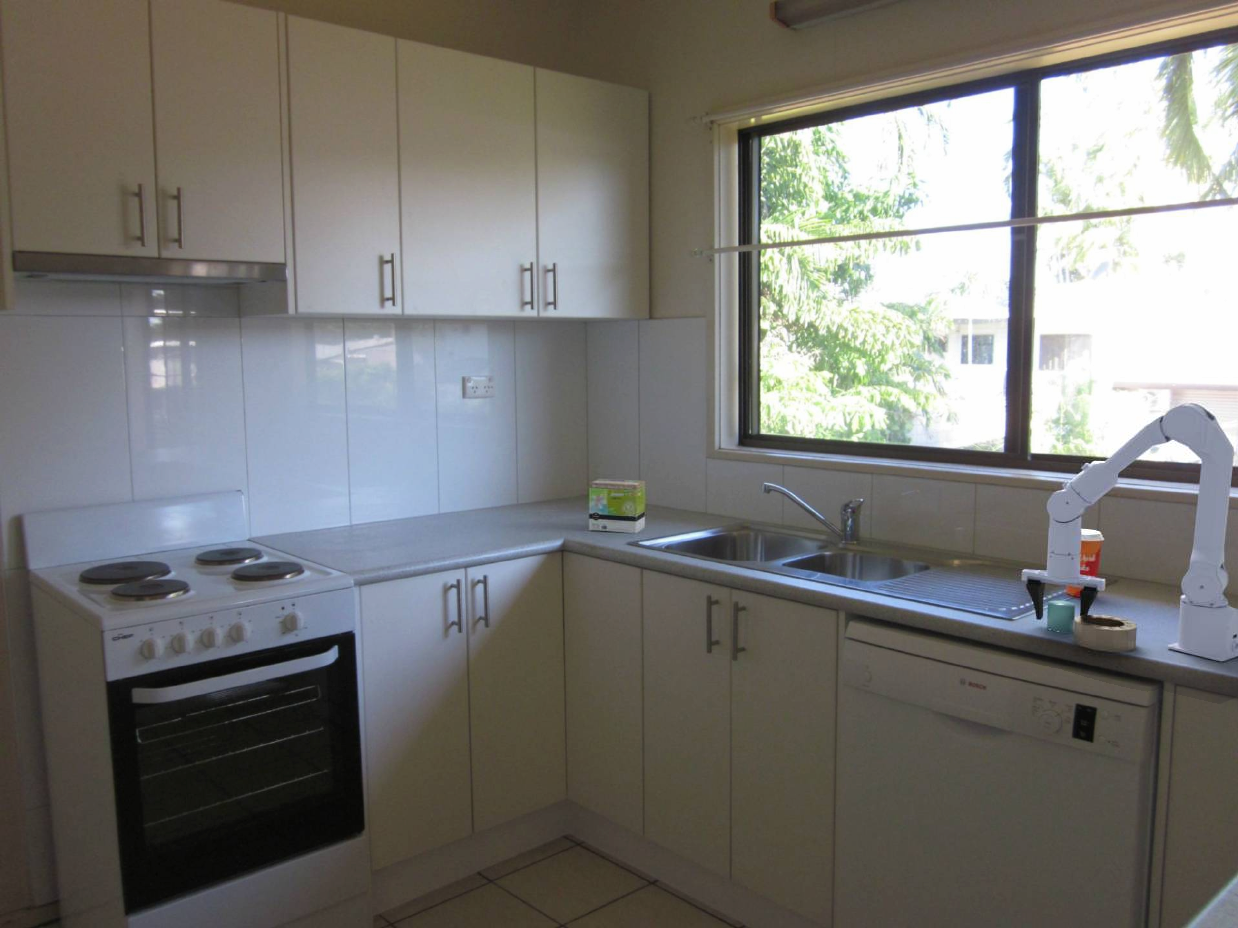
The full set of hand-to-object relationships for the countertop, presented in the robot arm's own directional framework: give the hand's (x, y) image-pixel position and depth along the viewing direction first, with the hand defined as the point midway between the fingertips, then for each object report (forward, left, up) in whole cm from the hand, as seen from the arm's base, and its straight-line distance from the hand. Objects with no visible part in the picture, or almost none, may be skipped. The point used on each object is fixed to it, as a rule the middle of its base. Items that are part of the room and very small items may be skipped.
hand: (1060, 621), depth 189 cm
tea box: (+136, +13, -2) cm, 137 cm away
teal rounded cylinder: (0, 0, -2) cm, 2 cm away
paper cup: (+13, -28, -2) cm, 31 cm away
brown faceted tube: (-10, +2, -1) cm, 10 cm away
